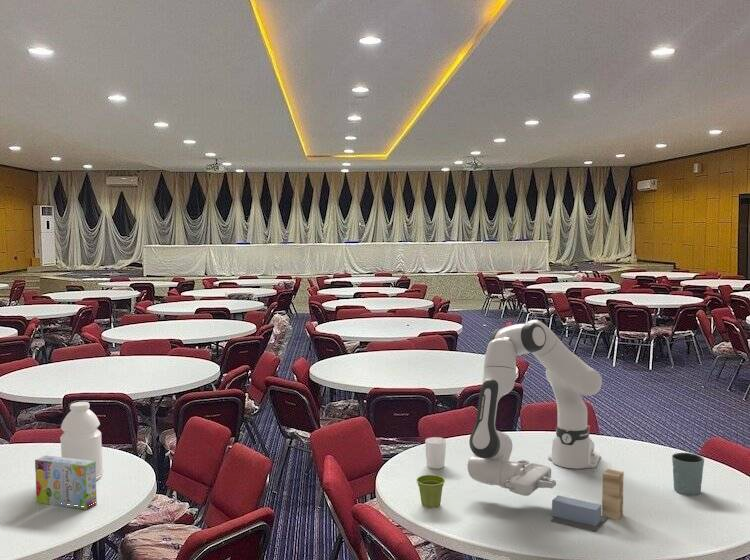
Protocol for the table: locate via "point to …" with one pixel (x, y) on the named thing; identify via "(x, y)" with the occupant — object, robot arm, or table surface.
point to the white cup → (435, 452)
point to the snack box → (66, 482)
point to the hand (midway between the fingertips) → (554, 484)
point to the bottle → (82, 436)
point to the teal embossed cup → (687, 473)
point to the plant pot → (430, 490)
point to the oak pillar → (612, 494)
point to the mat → (579, 524)
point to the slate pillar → (576, 510)
